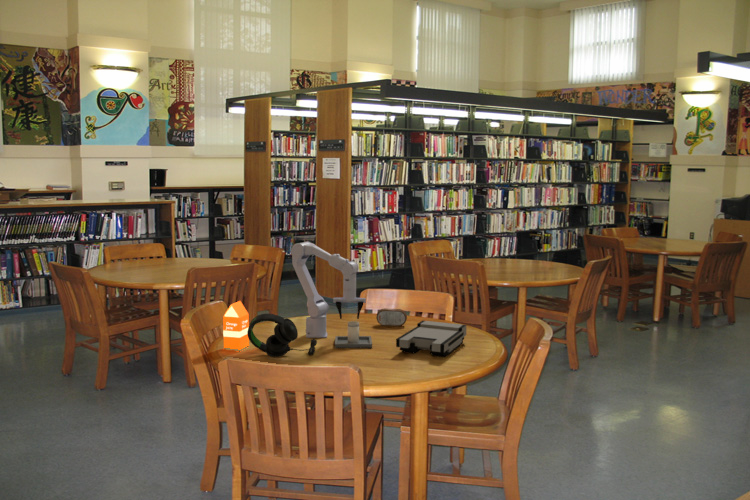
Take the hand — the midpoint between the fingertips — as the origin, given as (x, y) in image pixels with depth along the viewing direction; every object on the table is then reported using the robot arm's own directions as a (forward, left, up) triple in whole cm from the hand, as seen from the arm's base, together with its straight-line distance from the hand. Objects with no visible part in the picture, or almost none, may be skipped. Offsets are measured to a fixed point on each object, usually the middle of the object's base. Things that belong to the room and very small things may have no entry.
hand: (349, 318), depth 300 cm
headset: (-28, -25, -10) cm, 38 cm away
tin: (+21, +27, -10) cm, 35 cm away
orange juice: (-48, -14, -10) cm, 51 cm away
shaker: (+2, -8, -9) cm, 12 cm away
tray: (+2, -8, -10) cm, 13 cm away
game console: (+36, -16, -10) cm, 40 cm away
